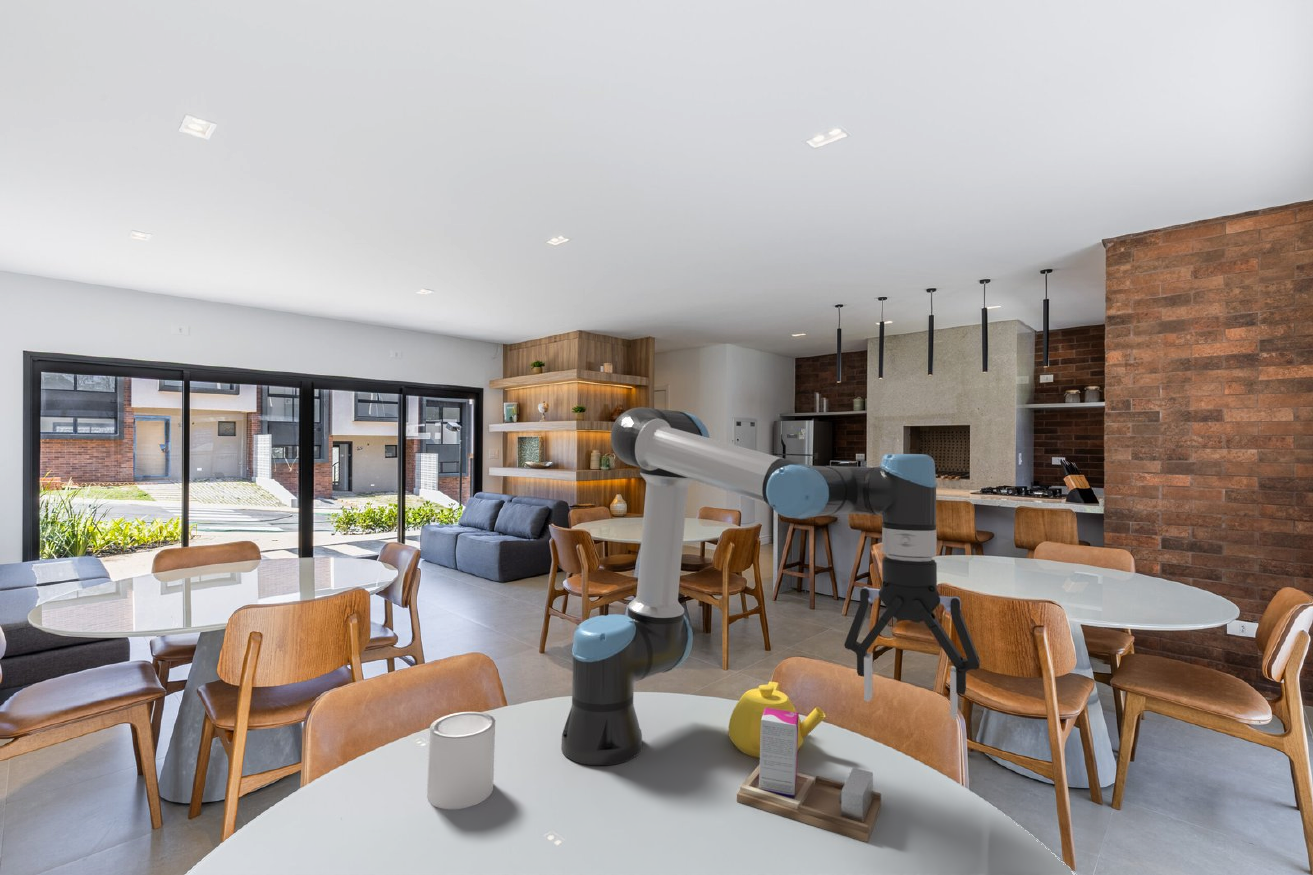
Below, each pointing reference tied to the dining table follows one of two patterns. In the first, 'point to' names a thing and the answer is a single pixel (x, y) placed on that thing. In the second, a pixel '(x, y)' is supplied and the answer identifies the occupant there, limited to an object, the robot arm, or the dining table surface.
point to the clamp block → (857, 795)
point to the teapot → (751, 711)
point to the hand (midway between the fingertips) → (909, 706)
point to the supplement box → (778, 752)
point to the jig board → (811, 804)
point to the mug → (461, 760)
